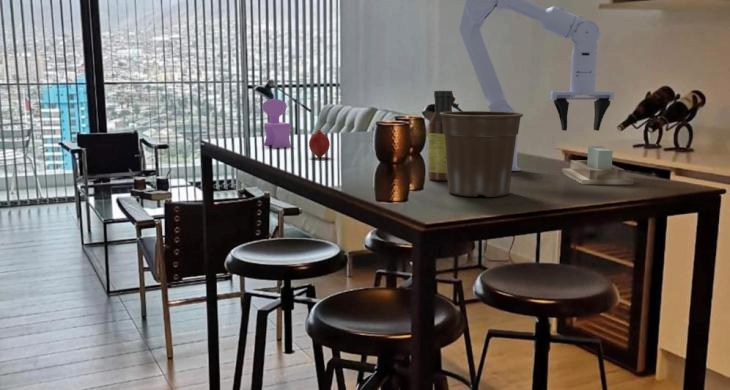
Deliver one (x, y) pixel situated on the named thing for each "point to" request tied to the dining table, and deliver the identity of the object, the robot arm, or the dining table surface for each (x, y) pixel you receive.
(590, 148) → the pale teal block
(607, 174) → the beige rectangular tray
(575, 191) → the dining table surface
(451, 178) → the plant pot
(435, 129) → the sauce bottle
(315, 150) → the onion
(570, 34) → the robot arm
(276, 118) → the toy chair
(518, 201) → the dining table surface
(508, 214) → the dining table surface
